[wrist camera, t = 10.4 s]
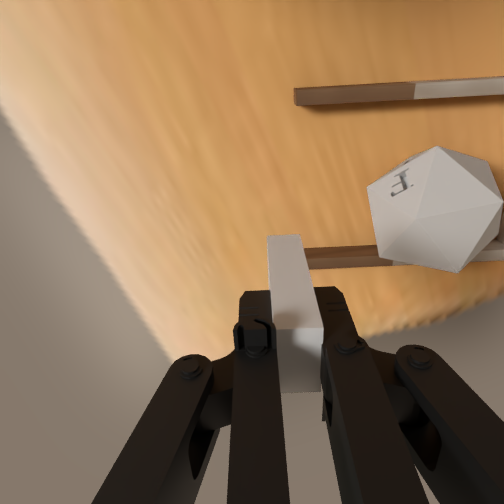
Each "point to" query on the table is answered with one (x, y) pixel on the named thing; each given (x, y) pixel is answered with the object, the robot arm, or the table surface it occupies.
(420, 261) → the die
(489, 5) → the table surface
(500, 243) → the grey brown u-shaped frame
